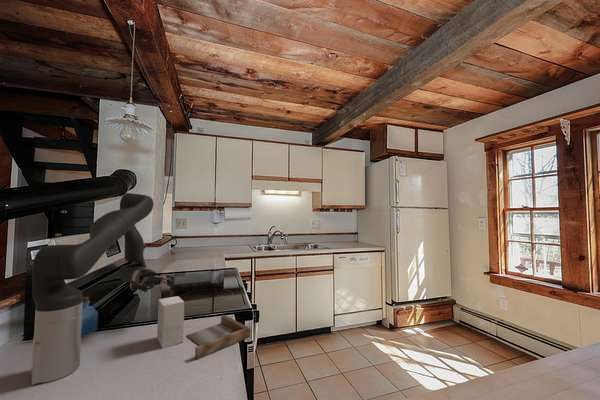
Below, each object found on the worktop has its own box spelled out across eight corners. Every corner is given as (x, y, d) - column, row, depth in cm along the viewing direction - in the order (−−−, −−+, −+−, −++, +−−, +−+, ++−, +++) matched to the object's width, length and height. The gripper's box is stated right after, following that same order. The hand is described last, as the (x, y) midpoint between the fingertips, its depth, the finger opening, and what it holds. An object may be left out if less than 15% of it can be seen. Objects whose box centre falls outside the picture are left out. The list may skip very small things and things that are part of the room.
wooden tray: (197, 359, 74) (197, 348, 74) (174, 340, 85) (174, 331, 85) (250, 337, 87) (250, 328, 87) (224, 323, 98) (224, 315, 98)
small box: (183, 342, 84) (184, 301, 84) (161, 348, 80) (163, 305, 80) (177, 333, 90) (178, 295, 91) (156, 338, 86) (158, 299, 87)
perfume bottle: (65, 335, 88) (67, 300, 88) (85, 328, 94) (87, 294, 94) (77, 338, 86) (79, 302, 86) (97, 330, 92) (98, 296, 92)
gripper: (124, 271, 99) (137, 279, 88) (164, 266, 110) (180, 272, 99) (124, 291, 99) (137, 301, 88) (163, 283, 109) (179, 292, 98)
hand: (159, 286), depth 93 cm, fingers open, 8 cm apart
